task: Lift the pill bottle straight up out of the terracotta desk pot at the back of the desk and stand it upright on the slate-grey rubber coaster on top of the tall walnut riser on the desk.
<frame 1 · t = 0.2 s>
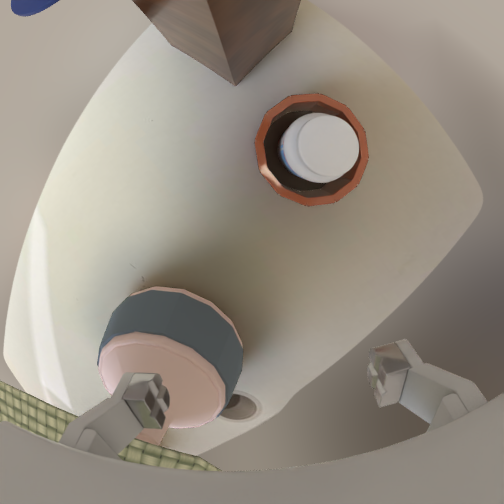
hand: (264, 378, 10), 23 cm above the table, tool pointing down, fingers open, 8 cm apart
desk lamp: (178, 338, 37), on the table
riser: (230, 34, 24), on the table
desk pot: (304, 150, 29), on the table
pill bottle: (304, 150, 29), resting in desk pot
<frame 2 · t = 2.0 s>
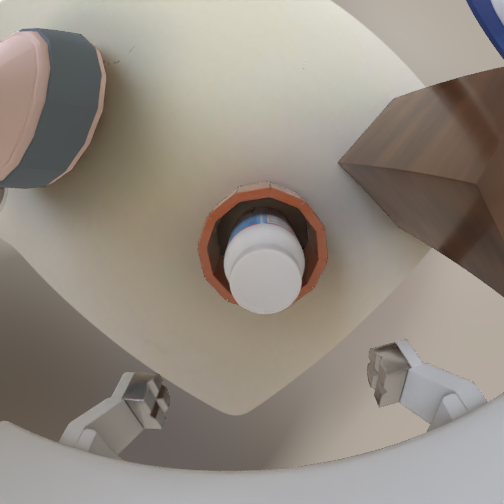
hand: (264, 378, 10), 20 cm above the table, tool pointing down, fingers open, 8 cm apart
desk lamp: (53, 109, 24), on the table
riser: (399, 162, 25), on the table
desk pot: (262, 235, 28), on the table
pill bottle: (262, 235, 28), resting in desk pot
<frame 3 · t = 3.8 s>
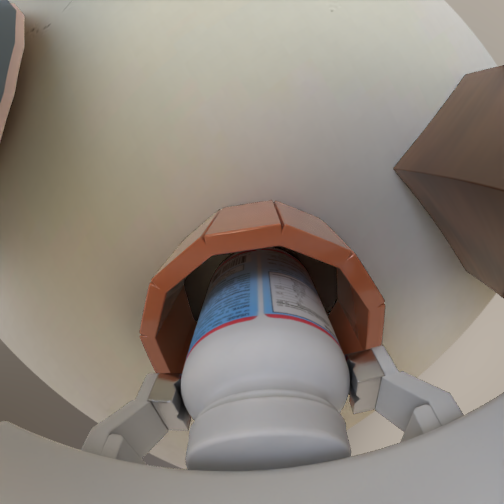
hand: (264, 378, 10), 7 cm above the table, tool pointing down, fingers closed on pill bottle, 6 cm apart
riser: (474, 173, 13), on the table
desk pot: (262, 292, 16), on the table
pill bottle: (262, 291, 17), resting in desk pot, touching gripper
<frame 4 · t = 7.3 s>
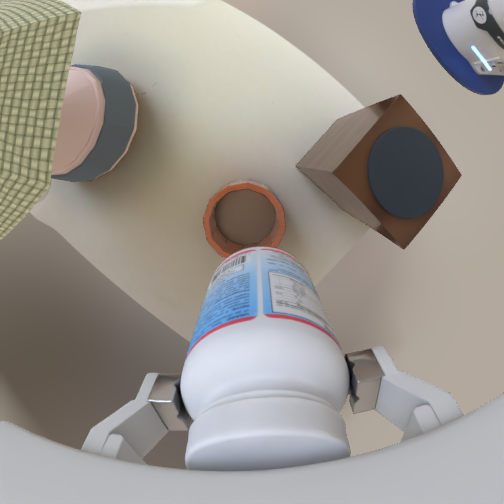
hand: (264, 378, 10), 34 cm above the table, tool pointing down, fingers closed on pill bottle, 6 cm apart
desk lamp: (94, 124, 37), on the table
riser: (341, 164, 39), on the table
desk pot: (245, 215, 42), on the table
pill bottle: (261, 291, 17), point 26 cm above the table, touching gripper
coaster: (406, 172, 21), resting on riser
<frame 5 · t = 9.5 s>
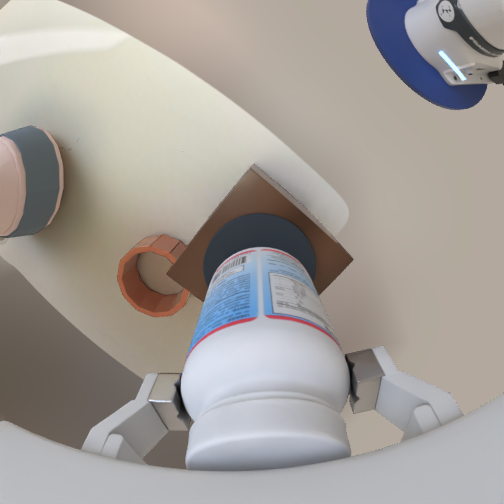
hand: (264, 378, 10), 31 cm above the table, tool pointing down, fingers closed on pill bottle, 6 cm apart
desk lamp: (35, 178, 37), on the table
riser: (258, 214, 39), on the table
desk pot: (163, 268, 41), on the table
pill bottle: (262, 291, 17), point 23 cm above the table, touching gripper
coaster: (259, 267, 20), resting on riser
when the fingers open (27 cm above the table, at t = 11.0 s): pill bottle stays where it is, resting on coaster.
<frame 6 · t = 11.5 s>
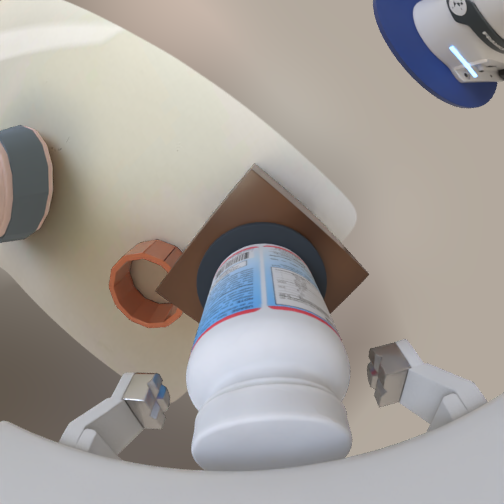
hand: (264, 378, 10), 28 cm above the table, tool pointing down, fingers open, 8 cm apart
desk lamp: (25, 180, 34), on the table
riser: (259, 218, 36), on the table
desk pot: (158, 275, 39), on the table
pill bottle: (263, 287, 17), point 20 cm above the table, touching coaster
coaster: (261, 285, 17), resting on riser
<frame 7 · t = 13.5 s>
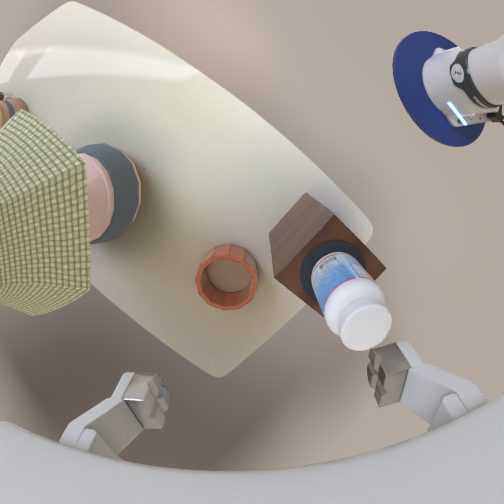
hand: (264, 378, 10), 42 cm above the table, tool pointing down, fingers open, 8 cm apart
desk lamp: (104, 190, 49), on the table
riser: (307, 230, 50), on the table
desk pot: (229, 271, 53), on the table
alarm clock: (6, 125, 43), on the table
pill bottle: (335, 274, 32), point 20 cm above the table, touching coaster
coaster: (333, 273, 32), resting on riser
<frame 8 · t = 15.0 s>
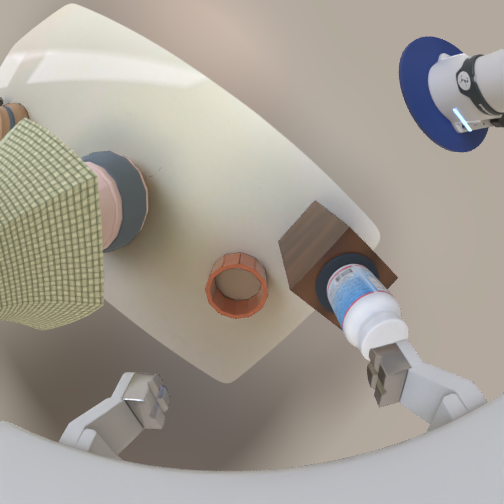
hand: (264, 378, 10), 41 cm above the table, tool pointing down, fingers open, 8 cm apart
desk lamp: (110, 199, 49), on the table
riser: (316, 238, 50), on the table
desk pot: (238, 279, 53), on the table
alarm clock: (5, 131, 42), on the table
pill bottle: (349, 285, 32), point 20 cm above the table, touching coaster
coaster: (347, 284, 32), resting on riser
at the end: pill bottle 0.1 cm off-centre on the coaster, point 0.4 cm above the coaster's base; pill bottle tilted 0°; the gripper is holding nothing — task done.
